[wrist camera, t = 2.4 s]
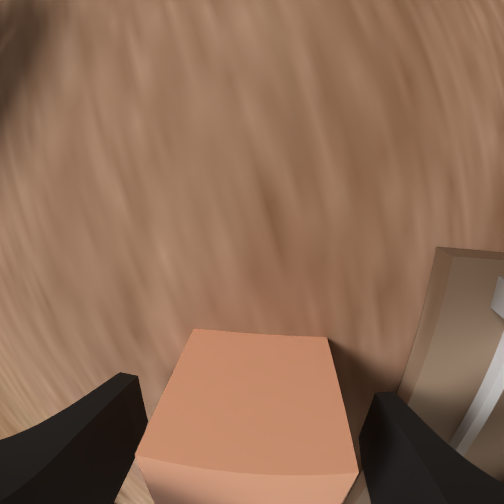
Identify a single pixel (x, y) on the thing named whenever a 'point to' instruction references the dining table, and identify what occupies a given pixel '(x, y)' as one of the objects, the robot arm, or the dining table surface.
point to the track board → (459, 360)
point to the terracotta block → (250, 424)
